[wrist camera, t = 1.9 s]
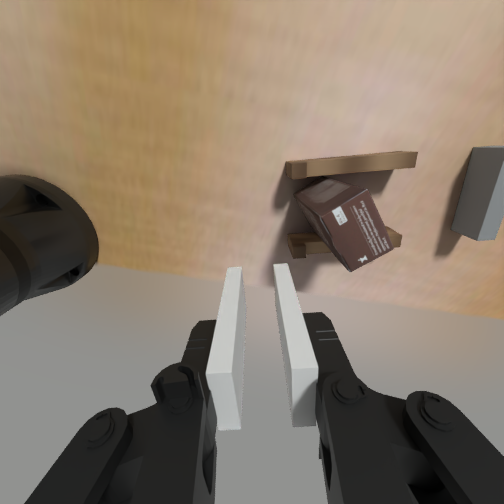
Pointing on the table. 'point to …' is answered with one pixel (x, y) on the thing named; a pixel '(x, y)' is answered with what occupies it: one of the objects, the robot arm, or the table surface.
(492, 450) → the robot arm
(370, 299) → the table surface
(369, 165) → the brown piece
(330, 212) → the box
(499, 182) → the end stop
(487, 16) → the table surface
